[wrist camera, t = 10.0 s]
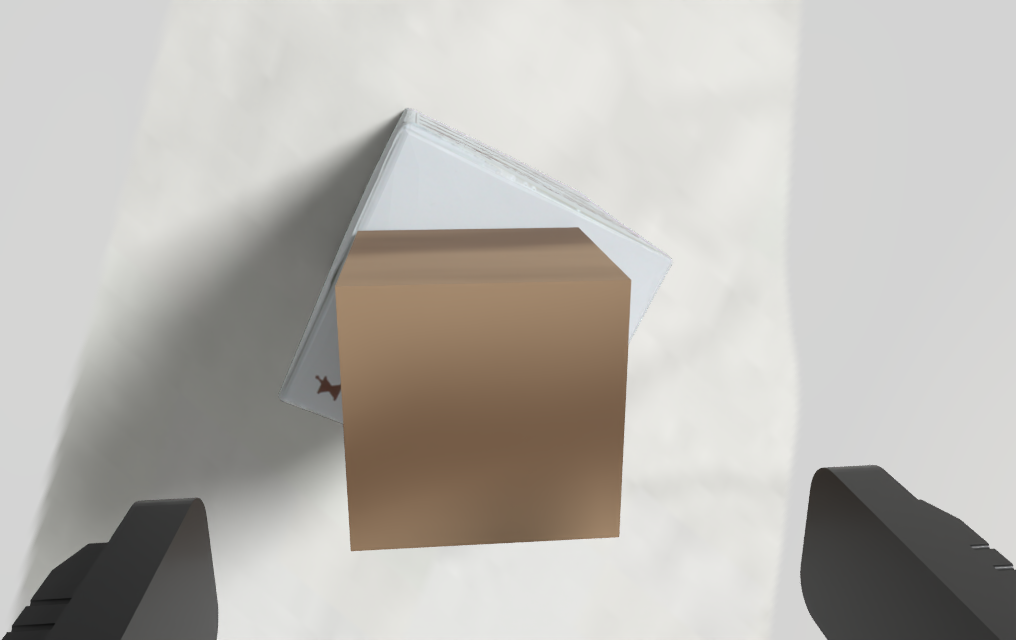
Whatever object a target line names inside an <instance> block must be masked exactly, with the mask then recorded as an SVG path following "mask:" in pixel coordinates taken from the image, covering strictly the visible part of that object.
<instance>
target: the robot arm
mask: <svg viewBox="0 0 1016 640" xmlns="http://www.w3.org/2000/svg"><path fill="white" fill-rule="evenodd" d="M800 573H801V574H800V575H801V586H802V592H803V596H804V600H805V603H806V606H807V609H808V611H809V613H810V615H811V616H812V618H813V619H814V621H815V623H816V624H817V625H818V627H819V628H820V630H821V631H822V632H823V634H824V635H825V637H826V638H827V640H1016V570H1014V569H1013V564H1012V563H1011V562H1010V561H1008V560H1007V559H1006V558H1005V557H1004V556H1003V555H1001V554H1000V553H999V552H998V551H996V550H995V549H990V548H989V544H988V543H987V542H986V541H985V540H984V539H983V538H981V537H980V536H979V535H978V534H977V533H975V532H974V531H973V530H972V529H971V528H969V527H968V526H967V525H966V524H965V523H964V522H962V521H961V520H960V519H958V518H956V517H954V516H952V515H950V514H948V513H946V512H944V511H942V510H941V509H939V508H936V507H935V506H933V505H931V504H928V503H927V502H925V501H923V500H918V499H917V498H915V497H914V496H913V495H912V494H911V493H910V492H908V490H906V489H905V488H904V487H903V486H902V485H901V484H900V483H898V482H897V481H896V480H895V479H894V478H893V477H892V476H891V475H889V474H888V473H887V472H886V471H885V470H884V469H882V468H881V467H879V466H876V465H867V466H848V467H828V468H820V469H819V470H817V471H816V473H815V474H814V477H813V479H812V483H811V488H810V496H809V504H808V512H807V520H806V528H805V537H804V545H803V553H802V561H801V571H800ZM217 631H218V602H217V594H216V586H215V578H214V570H213V562H212V554H211V547H210V539H209V531H208V523H207V516H206V511H205V507H204V504H203V502H202V500H201V499H200V498H186V499H166V500H146V501H137V502H135V503H134V504H133V505H132V507H131V508H130V510H129V511H128V513H127V514H126V516H125V517H124V519H123V520H122V522H121V523H120V525H119V527H118V528H117V530H116V531H115V533H114V534H113V536H112V537H111V539H110V540H109V542H108V543H94V544H88V545H86V546H85V547H84V548H82V549H81V550H79V551H78V552H77V553H75V554H74V555H73V556H71V557H70V558H68V559H67V560H66V561H64V562H63V563H62V564H60V565H59V566H57V567H56V568H55V569H53V570H52V571H51V573H50V574H49V575H48V577H47V578H46V580H45V581H44V582H43V584H42V585H41V586H40V588H39V589H38V591H37V592H36V593H35V595H34V596H33V598H32V599H31V604H30V606H26V607H25V609H24V610H23V611H22V613H21V614H20V615H19V617H18V618H17V620H16V621H15V622H14V624H13V625H12V631H11V632H7V633H6V635H5V636H4V637H3V639H2V640H217Z"/></svg>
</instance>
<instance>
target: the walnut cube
mask: <svg viewBox="0 0 1016 640" xmlns="http://www.w3.org/2000/svg"><path fill="white" fill-rule="evenodd" d="M335 294H336V311H337V328H338V344H339V361H340V378H341V394H342V411H343V428H344V444H345V461H346V477H347V494H348V511H349V527H350V544H351V551H362V550H381V549H400V548H419V547H438V546H458V545H477V544H496V543H515V542H534V541H553V540H572V539H591V538H610V537H619V527H620V507H621V486H622V465H623V444H624V423H625V403H626V382H627V361H628V340H629V319H630V298H631V279H630V278H629V277H628V276H627V275H626V274H625V273H624V272H623V271H622V270H621V269H620V268H619V267H618V266H617V265H616V264H615V263H614V262H613V261H612V260H611V259H610V258H609V257H608V256H607V255H606V254H605V253H604V252H603V251H602V250H601V249H600V248H599V247H598V246H597V245H596V244H595V243H594V242H593V241H592V240H591V239H590V238H589V237H588V236H587V235H586V234H585V233H584V232H583V231H582V230H581V229H580V228H579V227H569V228H503V229H438V230H373V231H357V234H356V236H355V239H354V241H353V244H352V246H351V249H350V251H349V253H348V256H347V258H346V261H345V263H344V266H343V268H342V271H341V273H340V276H339V278H338V280H337V283H336V285H335Z"/></svg>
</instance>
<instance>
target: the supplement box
mask: <svg viewBox="0 0 1016 640" xmlns="http://www.w3.org/2000/svg"><path fill="white" fill-rule="evenodd" d="M569 227H579V228H580V229H581V230H582V231H583V232H584V233H585V234H586V235H587V236H588V237H589V238H590V239H591V240H592V241H593V242H594V243H595V244H596V245H597V246H598V247H599V248H600V249H601V250H602V251H603V252H604V253H605V254H606V255H607V256H608V257H609V258H610V259H611V260H612V261H613V262H614V263H615V264H616V265H617V266H618V267H619V268H620V269H621V270H622V271H623V272H624V273H625V274H626V275H627V276H628V277H629V278H630V279H631V298H630V319H629V340H628V345H629V343H630V341H631V339H632V337H633V335H634V333H635V331H636V330H637V328H638V326H639V324H640V322H641V320H642V318H643V317H644V315H645V313H646V311H647V309H648V307H649V305H650V304H651V302H652V300H653V298H654V296H655V294H656V293H657V291H658V289H659V287H660V285H661V283H662V281H663V280H664V278H665V276H666V274H667V273H668V271H669V269H670V267H671V266H672V263H673V260H672V258H670V257H669V256H668V255H667V254H666V253H664V252H663V251H662V250H660V249H659V248H657V247H656V246H654V245H653V244H651V243H650V242H648V241H647V240H646V239H644V238H643V237H642V236H640V235H639V234H637V233H636V232H634V231H633V230H631V229H630V228H628V227H627V226H625V225H624V224H622V223H621V222H619V221H618V220H617V219H615V218H614V217H613V216H611V215H610V214H609V213H607V212H606V211H605V210H603V209H602V208H601V207H599V206H598V205H597V204H595V203H594V202H593V201H592V200H590V199H589V198H588V197H587V196H585V195H584V194H583V193H581V192H580V191H578V190H576V189H574V188H572V187H570V186H568V185H566V184H564V183H562V182H560V181H558V180H556V179H554V178H552V177H550V176H548V175H546V174H544V173H542V172H540V171H539V170H537V169H535V168H533V167H531V166H529V165H527V164H525V163H523V162H521V161H519V160H517V159H515V158H513V157H511V156H509V155H507V154H505V153H503V152H501V151H499V150H497V149H495V148H493V147H491V146H489V145H487V144H485V143H483V142H481V141H479V140H477V139H475V138H473V137H471V136H468V135H466V134H464V133H462V132H460V131H458V130H456V129H454V128H452V127H450V126H448V125H446V124H444V123H442V122H440V121H437V120H435V119H433V118H431V117H429V116H427V115H425V114H423V113H421V112H419V111H417V110H414V109H410V108H407V109H405V110H404V112H403V114H402V115H401V117H400V119H399V121H398V123H397V125H396V127H395V129H394V131H393V133H392V135H391V137H390V139H389V141H388V143H387V145H386V147H385V149H384V151H383V153H382V155H381V157H380V159H379V161H378V163H377V165H376V167H375V169H374V171H373V174H372V176H371V178H370V180H369V182H368V184H367V187H366V189H365V191H364V193H363V195H362V198H361V200H360V202H359V204H358V207H357V209H356V211H355V213H354V216H353V218H352V220H351V222H350V225H349V227H348V229H347V231H346V233H345V236H344V238H343V240H342V243H341V245H340V247H339V250H338V252H337V255H336V257H335V259H334V262H333V264H332V267H331V269H330V271H329V274H328V276H327V279H326V281H325V283H324V286H323V288H322V291H321V293H320V295H319V298H318V300H317V303H316V305H315V308H314V310H313V312H312V315H311V317H310V320H309V322H308V325H307V327H306V330H305V332H304V334H303V337H302V339H301V342H300V344H299V347H298V349H297V351H296V354H295V356H294V358H293V361H292V363H291V366H290V368H289V370H288V373H287V375H286V377H285V380H284V382H283V385H282V387H281V389H280V392H279V398H280V400H281V401H283V402H285V403H288V404H291V405H294V406H296V407H299V408H302V409H304V410H307V411H310V412H312V413H315V414H318V415H320V416H323V417H326V418H328V419H331V420H334V421H336V422H339V423H342V424H343V411H342V394H341V378H340V361H339V344H338V328H337V311H336V294H335V285H336V283H337V280H338V278H339V276H340V273H341V271H342V268H343V266H344V263H345V261H346V258H347V256H348V253H349V251H350V249H351V246H352V244H353V241H354V239H355V236H356V234H357V231H373V230H438V229H503V228H569Z"/></svg>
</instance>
